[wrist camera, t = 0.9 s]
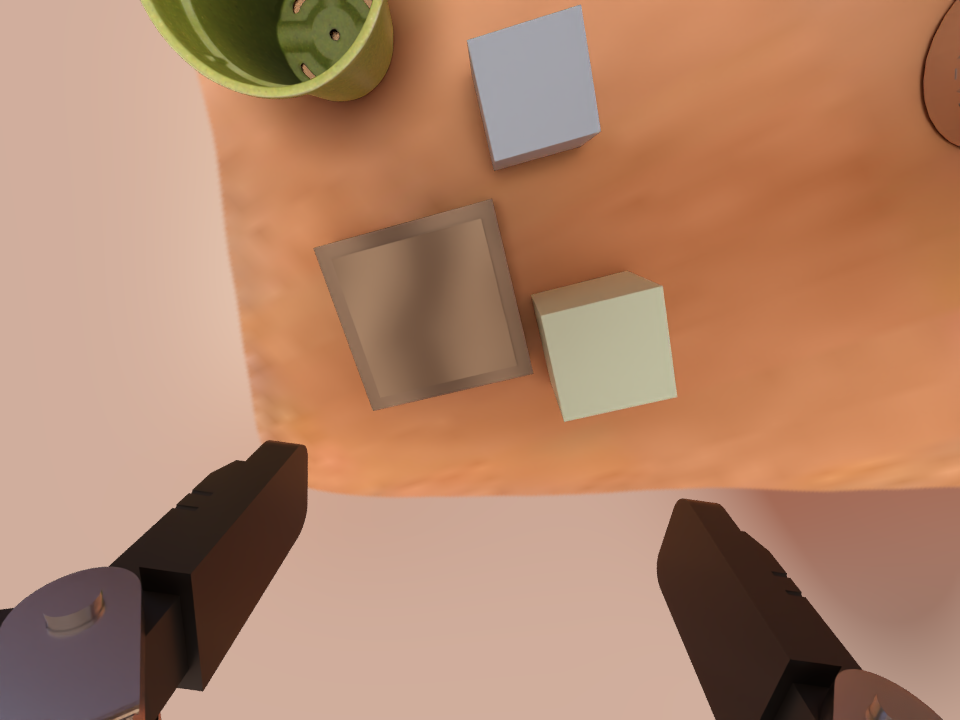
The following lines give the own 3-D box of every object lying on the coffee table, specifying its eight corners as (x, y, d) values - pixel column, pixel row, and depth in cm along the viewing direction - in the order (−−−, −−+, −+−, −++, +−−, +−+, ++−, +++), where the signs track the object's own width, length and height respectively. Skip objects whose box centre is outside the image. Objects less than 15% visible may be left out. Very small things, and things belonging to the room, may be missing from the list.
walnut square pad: (491, 200, 26) (492, 198, 23) (529, 357, 29) (533, 374, 26) (332, 244, 27) (312, 248, 24) (384, 392, 30) (372, 412, 27)
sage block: (626, 270, 27) (662, 285, 21) (640, 360, 29) (677, 396, 23) (530, 294, 28) (540, 315, 22) (550, 381, 30) (564, 421, 24)
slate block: (562, 46, 24) (580, 4, 19) (579, 146, 25) (600, 131, 20) (471, 74, 24) (467, 40, 19) (493, 170, 26) (494, 161, 21)
